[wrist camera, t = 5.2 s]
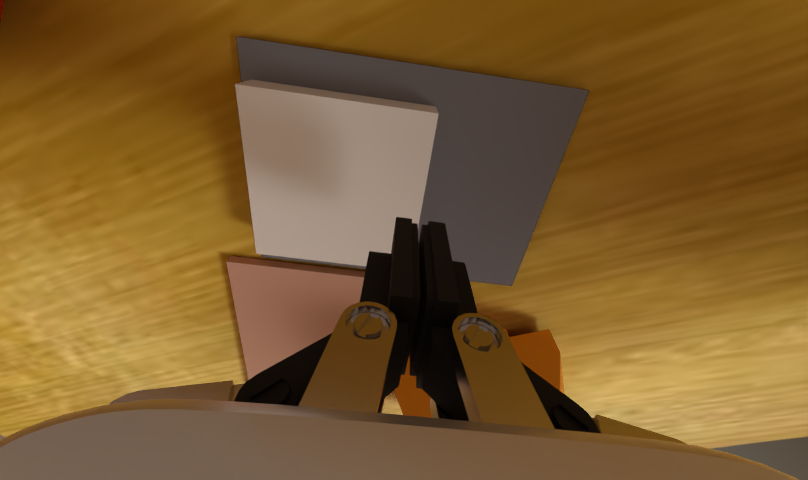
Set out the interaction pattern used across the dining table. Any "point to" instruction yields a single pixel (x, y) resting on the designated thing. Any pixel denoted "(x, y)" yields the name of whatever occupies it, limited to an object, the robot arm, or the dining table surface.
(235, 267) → the rest pad
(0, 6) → the tomato
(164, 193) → the dining table surface
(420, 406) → the bracket
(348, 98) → the tile
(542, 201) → the mat
